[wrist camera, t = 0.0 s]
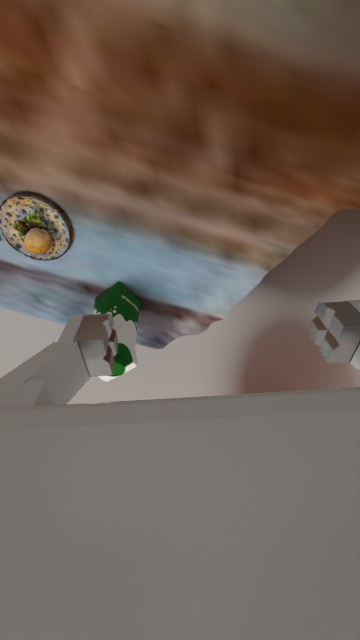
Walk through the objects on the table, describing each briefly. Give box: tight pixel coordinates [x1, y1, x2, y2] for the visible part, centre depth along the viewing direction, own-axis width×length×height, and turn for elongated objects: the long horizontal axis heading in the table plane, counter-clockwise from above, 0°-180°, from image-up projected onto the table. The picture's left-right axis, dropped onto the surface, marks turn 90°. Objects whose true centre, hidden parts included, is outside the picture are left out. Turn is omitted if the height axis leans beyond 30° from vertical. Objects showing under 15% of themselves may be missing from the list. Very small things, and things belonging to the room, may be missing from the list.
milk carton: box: [92, 282, 141, 382], centre depth 51 cm, size 9×9×20 cm
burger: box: [0, 192, 73, 261], centre depth 44 cm, size 12×12×8 cm
